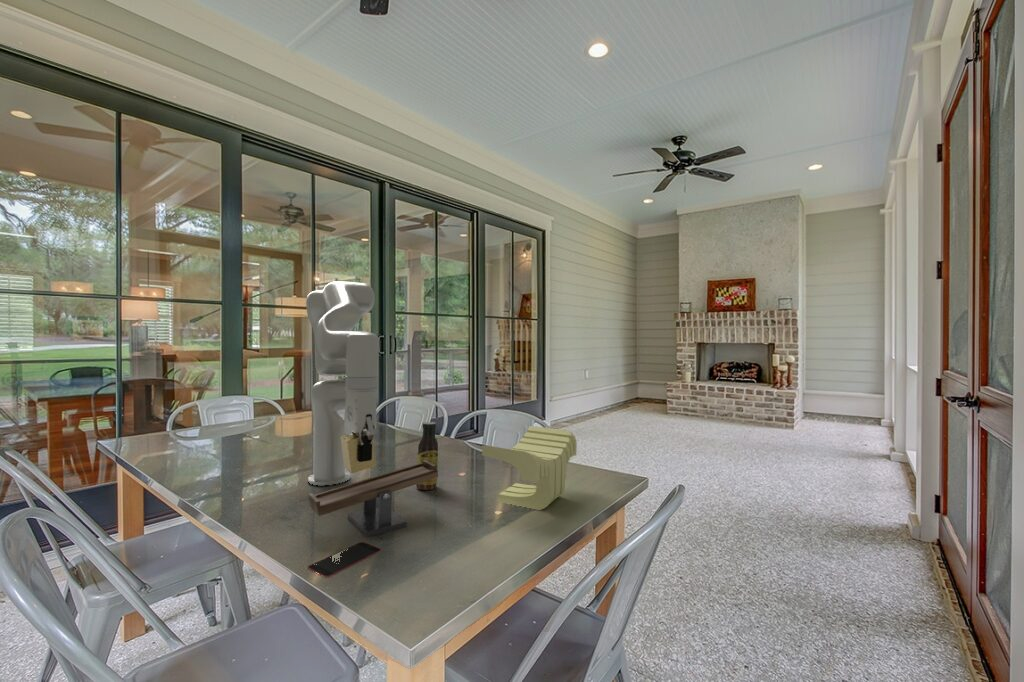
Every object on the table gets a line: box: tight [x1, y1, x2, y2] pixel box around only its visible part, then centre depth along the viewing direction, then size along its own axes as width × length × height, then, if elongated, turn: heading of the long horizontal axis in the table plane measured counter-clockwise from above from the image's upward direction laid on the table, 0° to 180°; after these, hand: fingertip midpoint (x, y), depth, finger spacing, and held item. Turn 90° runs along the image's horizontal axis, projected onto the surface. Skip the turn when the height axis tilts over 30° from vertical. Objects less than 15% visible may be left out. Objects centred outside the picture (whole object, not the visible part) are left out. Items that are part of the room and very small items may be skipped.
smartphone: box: [307, 541, 382, 578], centre depth 96 cm, size 7×1×14 cm
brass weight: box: [341, 429, 377, 475], centre depth 112 cm, size 5×6×8 cm
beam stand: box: [347, 490, 408, 538], centre depth 115 cm, size 13×10×9 cm
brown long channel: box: [307, 460, 439, 517], centre depth 115 cm, size 8×30×4 cm, turn 128°
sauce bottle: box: [416, 421, 439, 491], centre depth 141 cm, size 6×6×20 cm
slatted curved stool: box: [481, 425, 578, 511], centre depth 132 cm, size 30×16×18 cm, turn 153°
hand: (360, 457), depth 112 cm, fingers closed on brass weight, 5 cm apart
